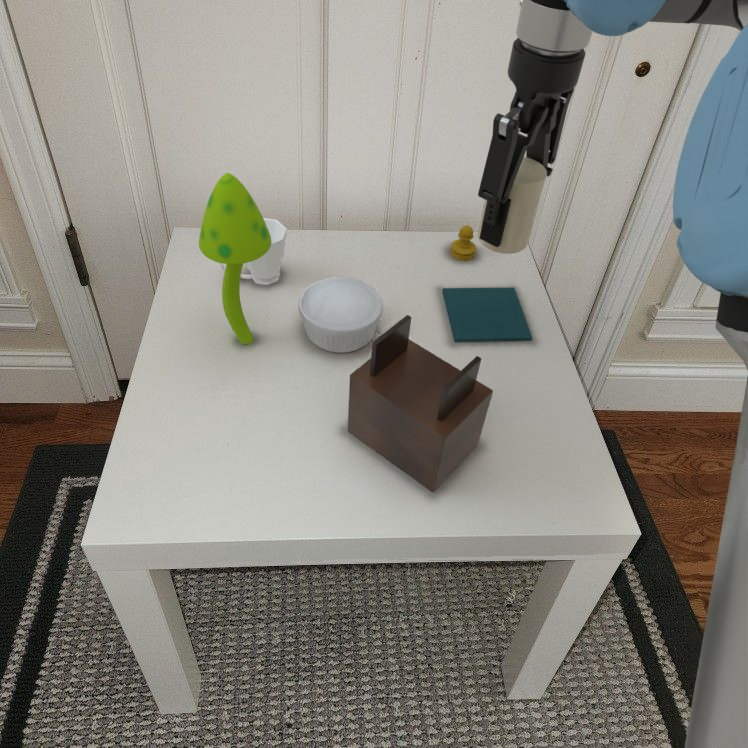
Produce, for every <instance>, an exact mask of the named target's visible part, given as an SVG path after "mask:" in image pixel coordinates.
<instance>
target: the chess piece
mask: <svg viewBox="0 0 748 748" xmlns="http://www.w3.org/2000/svg"><path fill="white" fill-rule="evenodd" d="M457 235H458V236H457V237H458V238H459V239H456V240H454V241H452V243H451V244H450V245H451V246H450V251H449V252H450V255H451V257H453V258H454V259H456V260H458V261H464V262H465V261H470V260H472V259H473V258H474V257H475V254H476V250H477V245H476V244H475V243H474V242H473V241H471V240H473V239H474V229H473V227H472V226H470V225H463V226H461V228H459V233H458V234H457Z"/></svg>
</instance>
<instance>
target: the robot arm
mask: <svg viewBox="0 0 748 748" xmlns="http://www.w3.org/2000/svg"><path fill="white" fill-rule="evenodd" d="M519 6H520V11H519V16H518V19H517V25H516V31H515V34H516V37H517V38H516V39H515V40H514V41H513V43H512V47H511V52H510V57H509V62H508V67H507V76H508V78H509V80H510V81H511V82H512V83H513V85H514V87H515V90H516V91H515V92H514V95H513V97H512V100H511V102H510V106H509V111H508V112H507V113H506V114H502V113H500V112H499V113H498V112H497V113H496V115H495V116H494V118H493V120H492V121H493V122H492V136H491V140H490V143H489V147H488V151H487V156H486V160H485V164H484V168H483V172H482V176H481V180H480V185H479V188H478V191H477V196H478V197H479V198H481V199H483V200H484V201H485V200H487V204H486V209H485V214H484V218H483V223H482V228H481V233H480V237H479V239H481V240H483V241H485V242H487V243H489V244H491V245H493V246H495V247H498V246H500V245H501V240H502V236H503V232H504V228H505V224H506V220H507V215H508V211H509V207H510V203H511V199H509V198H508V196H509V194H510V191H511V189H512V186H513V183H514V181H515V178H516V176H517V173H518V170H519V168H520V165H521V163H522V160H523V158H524V157H527V158H531V159H533V160H535V161H537V162H539V163H540V164H542V165H543V166H544V167H545V169H546V171H547V177H546V178H548V177H550V176H551V175H552V173H553V170H554V169H553V168H552V167H549V165H553V164H554V163H555V161H556V158H557V155H558V150H559V146H560V141H561V137H562V134H563V129H564V125H565V121H566V117H567V112H568V108H569V104H570V102H571V99H572V97H573V94H574V92H575V87H576V86H577V85H578V82H579V79H580V75H581V72H582V69H583V65H584V61H585V58H586V51H585V49H586V48H587V47H588V46H589V45H590V42H591V38H592V34H593V33H595V34H598V35H601V36H606V37H621V36H624V35H626V34H628V33H631V32H634V31H635V30H637V29H640V28H642V27H644V26H645V25H646V24H648V23H666V24H667V23H668V24H698V25H709V26H710V25H711V26H724V27H730V28H734V29H737V30H738V31H740V32H739V33H738V35H737V37H736V38H735V40H734V41H733V43H732V45H731V46H730V47H729V49H728V51H727V53H726V54H725V55H724V57H722V58H721V60H720V61H719V63H718V65H717V66H716V68H715V70H714V71H713V73H712V75H711V77H710V79H709V80H708V83H707V85H706V87H705V89H704V91H703V92H702V94H701V97H700V99H699V101H698V103H697V106H696V107H695V110H694V113H693V116H692V118H691V121H690V123H689V126H688V128H687V132H686V135H685V138H684V141H683V144H682V145H683V146H682V149H681V152H680V156H679V160H678V164H677V169H676V175H675V180H674V188H673V189H674V190H673V196H672V197H673V199H672V215H673V216H672V221H673V224H674V225H675V227H676V229H678V230H680V232H679V234H678V237H677V239H676V247H677V249H678V252H679V255H680V257H681V259H682V261H683V263H684V265H685V266H686V268H687V269H688V271H689V272H690V273H691V274H692V275H693V276H694V277H695V278H696V279H697V280H699V281H700V282H701V283H703V284H705V285H706V286H709V287H711V288H712V289H713V290H715V291H716V292H719V293H720V294H719V299H718V300H719V301H718V306H717V313H716V319H715V329H716V331H717V332H718V333H719V334H720V335H721V337H722V338H723V339H724V340H725V341H726V342H727V344H728V345H729V346H730V347H731V348H732V350H733V351H734V352H735V353H736V354H737V356H738V357H739V358H740V360H742V361H743V363H744V366H745V368H746V370H747V371H748V0H519ZM523 134H524V135H523ZM479 239H478V240H479ZM739 418H740V419H739V425H738V430H737V437H736V443H735V448H734V454H733V460H732V466H731V472H730V478H729V484H728V488H727V489H728V490H727V494H726V495H727V496H726V501H725V506H724V507H725V508H724V513H723V518H722V524H721V531H720V536H719V543H718V549H717V553H716V560H715V566H714V571H713V577H712V583H711V589H710V594H709V595H710V596H709V601H708V608H707V614H706V619H705V625H704V630H703V637H702V642H701V647H700V648H701V649H700V655H699V660H698V667H697V671H696V678H695V683H694V690H693V696H692V700H691V701H692V702H691V709H690V713H689V719H688V726H687V729H686V730H687V731H686V738H685V743H684V748H748V376H747V378H746V383H745V390H744V394H743V401H742V407H741V413H740V417H739Z"/></svg>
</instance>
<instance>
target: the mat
mask: <svg viewBox="0 0 748 748" xmlns="http://www.w3.org/2000/svg"><path fill="white" fill-rule="evenodd" d="M441 292H442V297H443V300H444V304H445V308H446V309H445V310H446V312H447V317H448V321H449V325H450V329H451V333H452V337H453V342H454V343H479V342H481V343H483V342H525V341H528V342H530V341H532V340H533V336H532V333H531V331H530V328H529V325H528V322H527V320H526V316H525V314H524V311H523V308H522V306H521V303H520V300H519V297H518V294H517V291H516V289H515V287H514V286H513V287H511V286H510V287H442V290H441Z"/></svg>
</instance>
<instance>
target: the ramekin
mask: <svg viewBox="0 0 748 748" xmlns="http://www.w3.org/2000/svg"><path fill="white" fill-rule="evenodd" d="M297 306H298V312H299V315H300V318H301V319H302V323H303V327H304V330H305V333H306V336H307V337H308V338H309V340H310V341H311V342H312V343H313V344H314V345H316V347H318V348H320V349H322V350H324V351H326V352H327V351H328V352H331V353H341V354H343V353H350V352H354V351H357V350H359V349H361V348H364V346H367V344H369V343H370V341H372V339H373V337H374V336H375V333H376V330H377V327H378V324H379V321H380V320H381V318H382V315H383V310H384V303H383V300H382V296H381V295H380V293H379V292H378V290H376V289H375V288H374V287H373V286H371V285H370V284H369V283H366V282H365V281H362V280H361V279H356V278H354V277H353V278H352V277H346V276H331V277H326V278H322V279H320V280H316V281H315V282H313V283H311V284H310V285H308V286H307V287H306V288H304V289H303V291H302V292H301V293H300V295H299V298H298V305H297Z"/></svg>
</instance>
